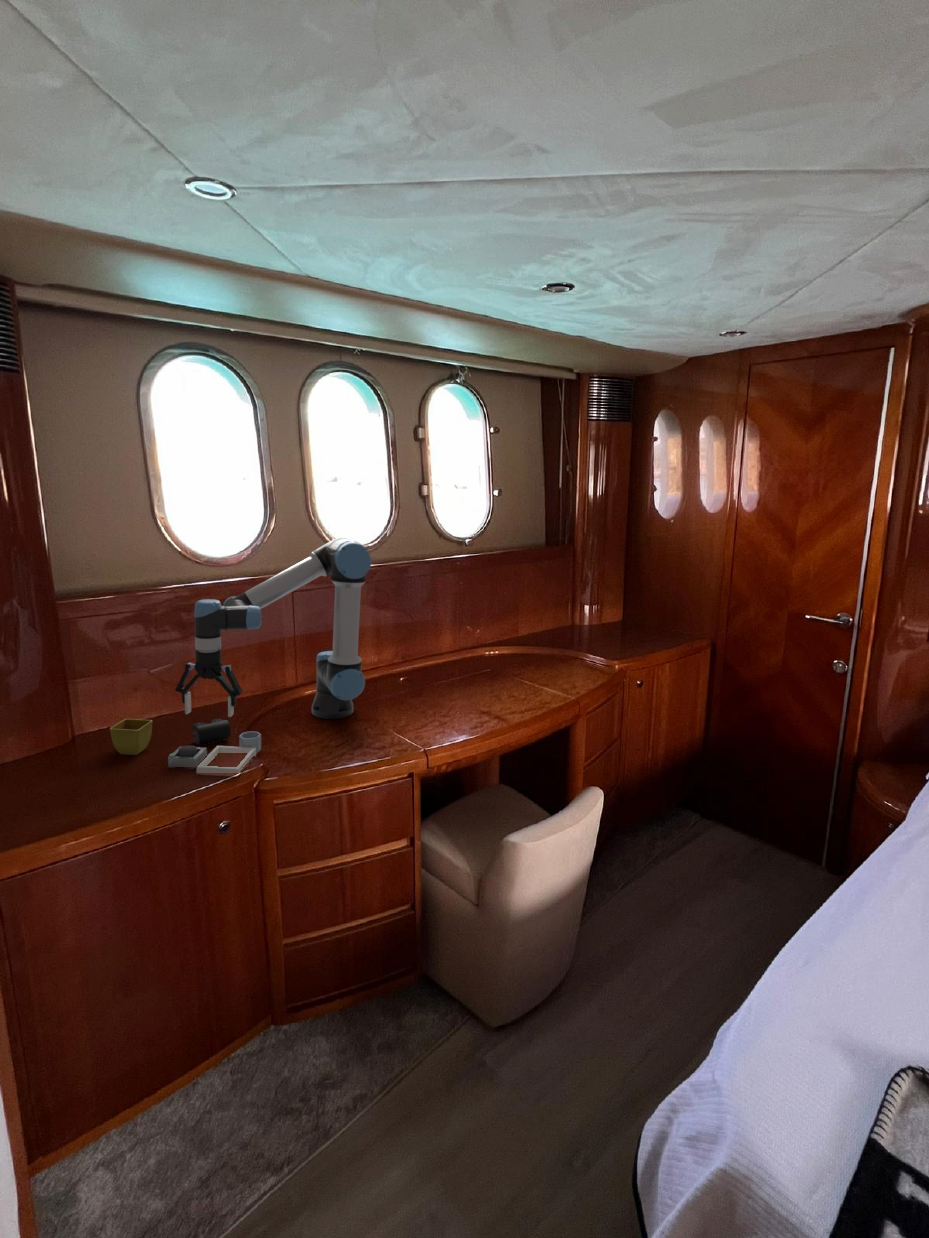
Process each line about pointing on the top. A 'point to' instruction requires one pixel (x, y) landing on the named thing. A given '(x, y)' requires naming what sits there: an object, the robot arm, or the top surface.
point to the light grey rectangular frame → (226, 749)
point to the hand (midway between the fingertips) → (209, 714)
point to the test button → (187, 751)
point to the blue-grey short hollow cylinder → (250, 740)
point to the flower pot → (131, 735)
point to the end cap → (211, 731)
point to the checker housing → (186, 758)
